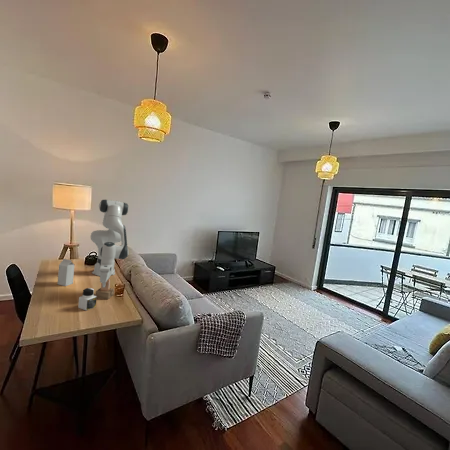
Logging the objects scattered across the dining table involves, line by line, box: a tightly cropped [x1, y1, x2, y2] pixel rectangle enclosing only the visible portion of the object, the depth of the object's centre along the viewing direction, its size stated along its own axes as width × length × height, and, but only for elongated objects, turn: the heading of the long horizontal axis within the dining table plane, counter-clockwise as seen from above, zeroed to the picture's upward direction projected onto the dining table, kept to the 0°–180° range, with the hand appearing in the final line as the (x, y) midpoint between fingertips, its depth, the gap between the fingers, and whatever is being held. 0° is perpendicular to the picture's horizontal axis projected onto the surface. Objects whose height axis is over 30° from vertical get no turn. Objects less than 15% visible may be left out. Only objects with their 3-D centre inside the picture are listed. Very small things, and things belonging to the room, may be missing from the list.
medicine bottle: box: [77, 287, 98, 311], centre depth 162 cm, size 7×7×12 cm
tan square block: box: [94, 287, 115, 301], centre depth 182 cm, size 9×9×5 cm
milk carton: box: [57, 258, 75, 287], centre depth 194 cm, size 7×7×19 cm
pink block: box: [100, 278, 111, 291], centre depth 182 cm, size 5×5×8 cm
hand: (105, 284), depth 182 cm, fingers open, 8 cm apart
